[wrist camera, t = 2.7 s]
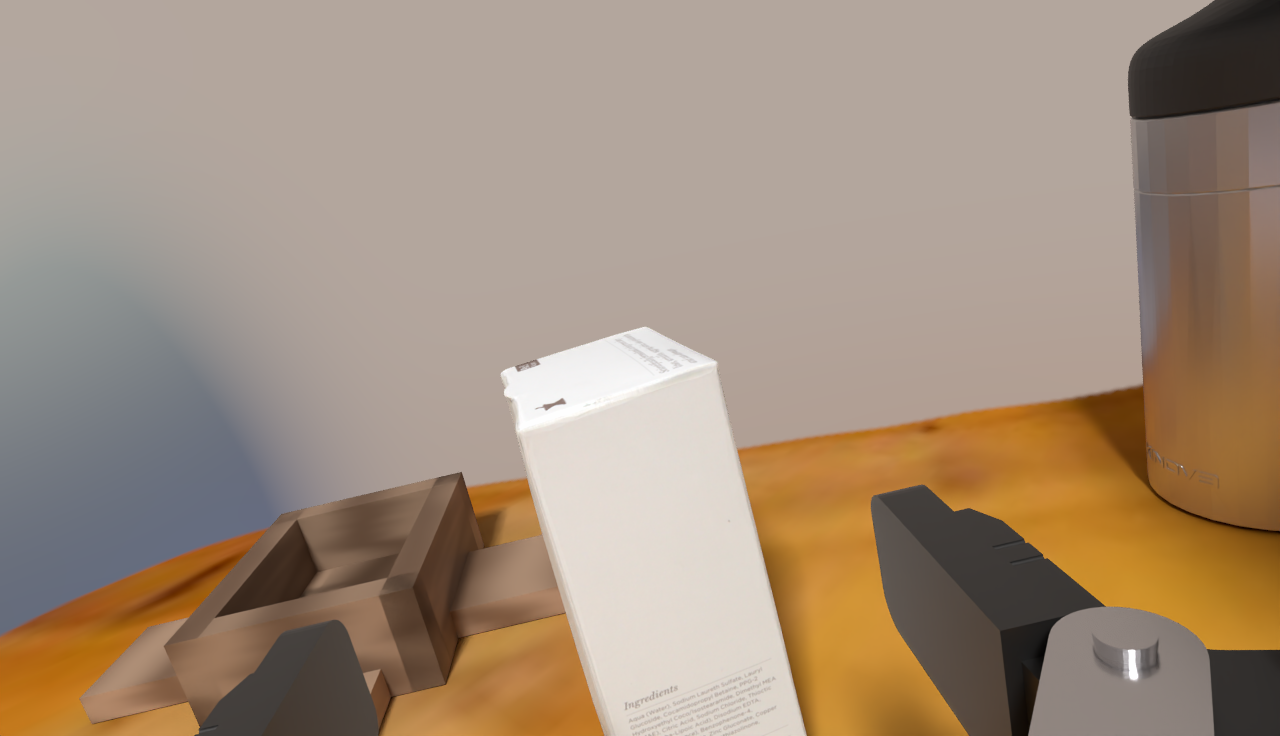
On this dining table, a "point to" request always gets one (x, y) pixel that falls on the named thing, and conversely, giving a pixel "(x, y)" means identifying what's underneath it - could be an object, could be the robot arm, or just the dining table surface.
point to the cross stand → (342, 600)
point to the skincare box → (653, 538)
